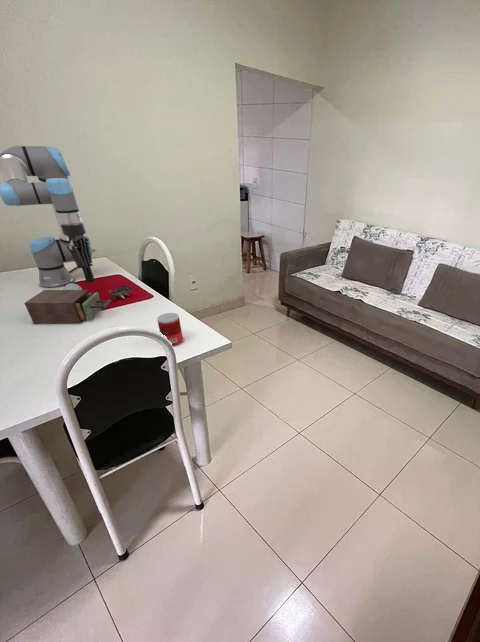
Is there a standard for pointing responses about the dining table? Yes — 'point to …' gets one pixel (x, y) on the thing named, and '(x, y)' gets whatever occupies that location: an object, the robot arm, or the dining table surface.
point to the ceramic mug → (72, 287)
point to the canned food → (170, 327)
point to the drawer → (90, 306)
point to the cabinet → (55, 307)
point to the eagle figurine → (120, 292)
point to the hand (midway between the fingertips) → (90, 281)
